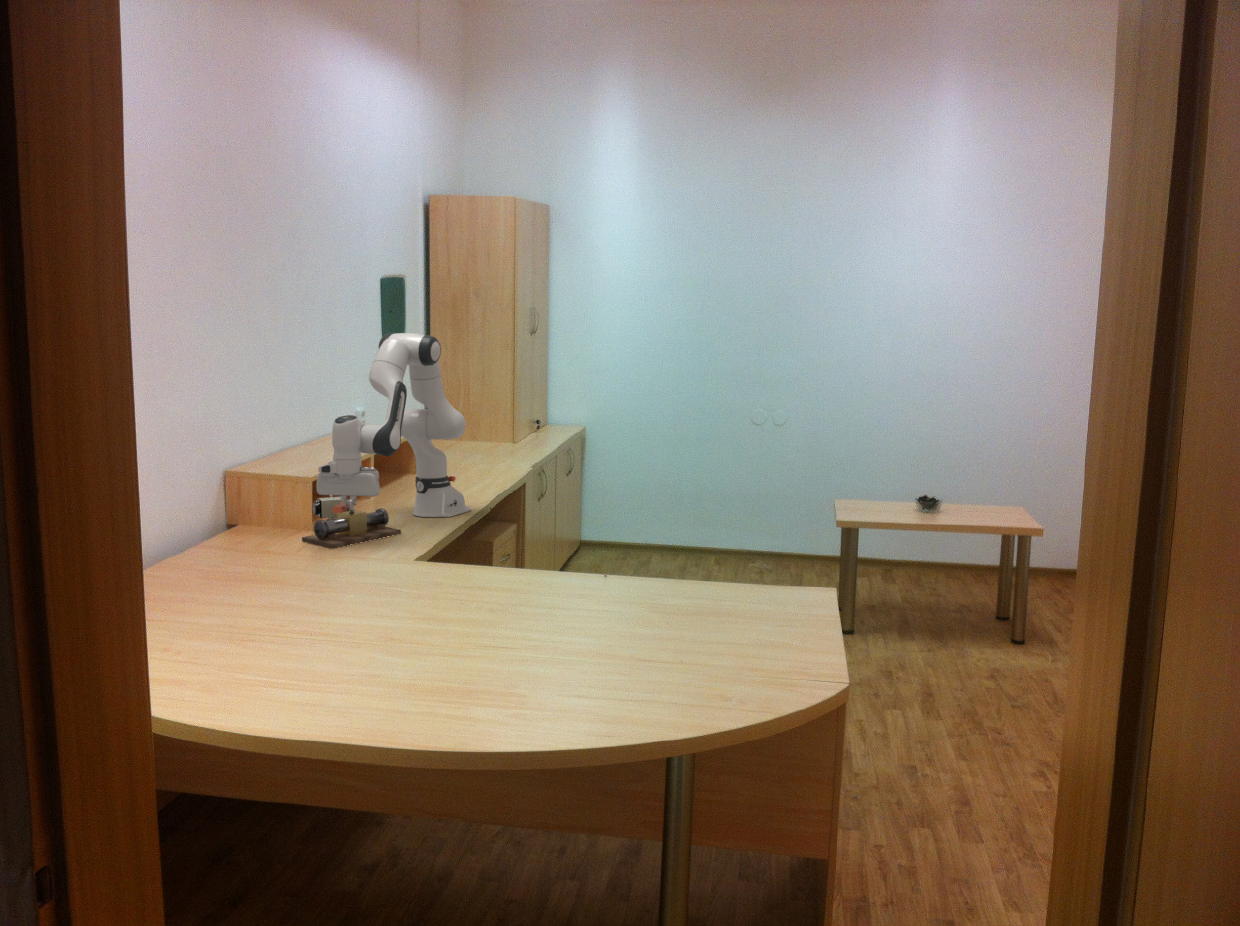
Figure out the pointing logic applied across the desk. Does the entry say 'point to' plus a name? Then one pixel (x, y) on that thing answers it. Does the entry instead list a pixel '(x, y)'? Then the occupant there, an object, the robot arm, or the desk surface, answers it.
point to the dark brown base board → (352, 537)
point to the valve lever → (341, 507)
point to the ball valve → (350, 523)
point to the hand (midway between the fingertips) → (349, 509)
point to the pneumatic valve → (326, 507)
